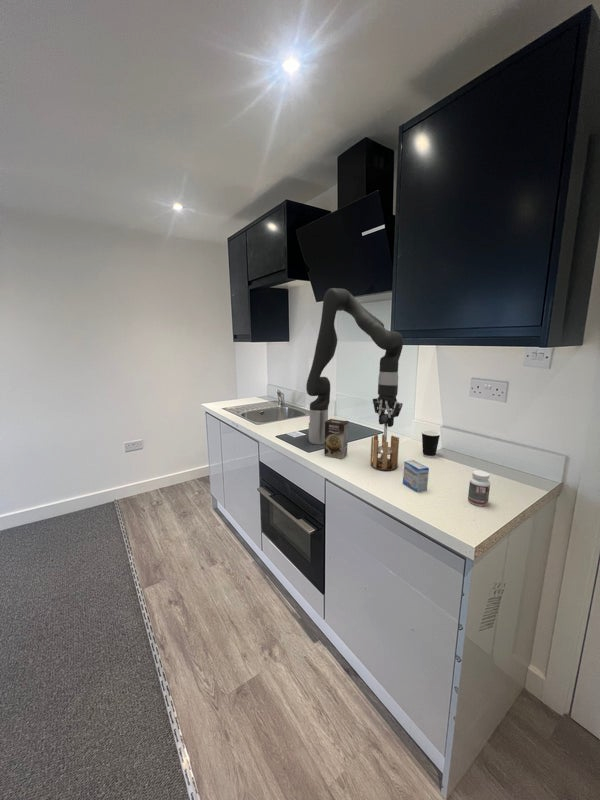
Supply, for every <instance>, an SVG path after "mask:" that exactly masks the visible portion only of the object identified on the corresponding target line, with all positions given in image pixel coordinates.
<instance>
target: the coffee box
mask: <svg viewBox="0 0 600 800" xmlns="http://www.w3.org/2000/svg"><path fill="white" fill-rule="evenodd" d="M348 442H349V420H340V419H334V418H328V420H327V421H325V444H323V446H324V449H323V450H324V451H323V453H324V455H323V457H328V458H334V459H338V460H344V459H345V458H346V457H347V456H348V445H349V444H348Z"/></svg>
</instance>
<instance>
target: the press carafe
mask: <svg viewBox="0 0 600 800" xmlns="http://www.w3.org/2000/svg"><path fill="white" fill-rule="evenodd" d="M383 440H384V433H382V435H381V446H383V454H380V457H379V454H378V446H380V445H379V442H380V441H379V435H378V434H374V435H373V436H371V442H370V443H371V444H370V460H369V461H370V467H371V468H372V469H374V470H376V471H380V472H381V471H382V472H394V471H395V470H397V468H398V466H399V465H398V462H399V461H398V460H399V444H400V437H398V436H394V435H391V436H390V447H391V448H392V454H391V455H388V447H389V441H386V442H383ZM388 456H389V458H388Z"/></svg>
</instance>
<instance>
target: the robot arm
mask: <svg viewBox="0 0 600 800" xmlns="http://www.w3.org/2000/svg"><path fill="white" fill-rule="evenodd" d="M338 311H339V312H340V311H344V312H345V313H348V315H351V316H352V318H353V319H354V321H355V323H356V324H357V326H358V327H359V328H360V330H361V331H362V332H364V333H365V334H367V335H368V336H369V337H370V338H371V340H372V341H373V342H374V343H375V345H376V346H377V347H379V348H380V349H382V350H383V351H384V350H385V353H384V355H383V356H382V357H380V360H379V372H378V373H379V374H378V381H377V395H378V397H377V398H376V397H375V398H372V404H373V408H374V413H375V414H378V424H379V425H381V426H382V425H384V423H381V415H382V414H386V412H387V414H388V417H389V418H388V424H387V428H391V427H393V426H394V425H395V424H394V423H395V421H394V419H395V418H397V417H399V415H400V414H401V410H402V408H403V402H400V401H398V400H397V397H398V391H399V390H398V389H399V362H400V361H399V360H400V357H401V354H402V350H403V345H404V338H403V335H402V334H401V332H398V331H395V330H393V331H392V330H388V329H386V328H385V325H384V323H383V322H382V321H381V320H380V319H379V318H377V317H376V316H374V315H373V314H372V313H371V312H369V311H368V310H367V309H366V308H365V307H364V306H363V305H362V304H361V303H360V302H359V301H358V300H357V298H355V296H353V294H352V293H351V292H350V291H349V290H347V289H345V288H340V287H339V288H338V287H337V288H336V287H332V288H331V287H330V288H328V289H327V290H326V291H325V294H324V296H323V302H322V311H321V319H320V320H321V321H320V326H319V331H318V335H317V339H316V345H315V349H314V354H313V355H314V356H313V360H312V364H311V368H310V371H309V374H308V377H307V380H306V386H305V387H306V393H307V395H308V396H310V397H317V398H316V399H314V400H313V401H311V402H310V403H309V422H308V441H309V443H310V444H313V445H325V421H327V420H329V405H330V402H331V401H330V399H331V381H330V379H329V378H328V377H327V376H321V375H322V373H323V371H324V369H325V368H326V367H327V365H328V364H329V363H330V362H331V361H332V359H333V358H334V357H335V354H336V350H337V345H338V335H337V332H336V327H335V319H336V316H337V315H336V314H337V312H338Z"/></svg>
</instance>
